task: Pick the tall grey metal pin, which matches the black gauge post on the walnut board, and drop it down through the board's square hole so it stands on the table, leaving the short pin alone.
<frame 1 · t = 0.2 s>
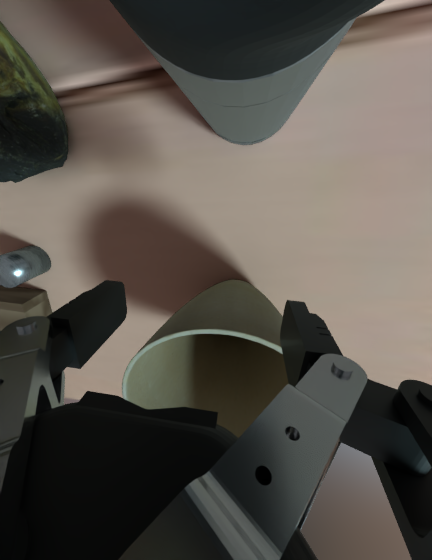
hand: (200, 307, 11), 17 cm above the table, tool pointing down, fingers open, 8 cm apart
hole board: (4, 316, 37), on the table
short pin: (37, 259, 32), on the table
plant pot: (233, 302, 31), on the table
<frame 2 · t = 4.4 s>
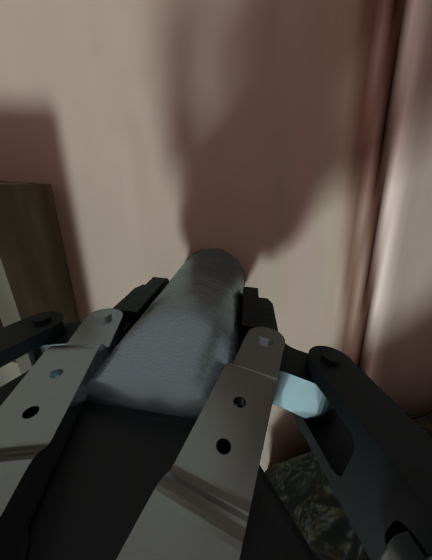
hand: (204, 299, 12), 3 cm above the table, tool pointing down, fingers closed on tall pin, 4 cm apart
hole board: (5, 305, 18), on the table
tall pin: (212, 279, 14), on the table, touching gripper
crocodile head: (425, 428, 17), on the table
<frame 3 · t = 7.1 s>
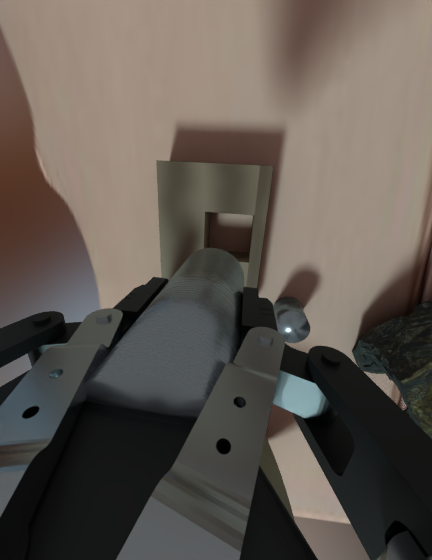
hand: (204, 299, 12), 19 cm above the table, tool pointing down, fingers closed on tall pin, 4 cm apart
hole board: (214, 241, 30), on the table
short pin: (287, 309, 33), on the table
tall pin: (212, 278, 14), point 16 cm above the table, touching gripper
plant pot: (245, 432, 44), on the table
when the fingers open (5 cm above the table, at t = 9.8 s): tall pin drops 2 cm, resting in hole board.
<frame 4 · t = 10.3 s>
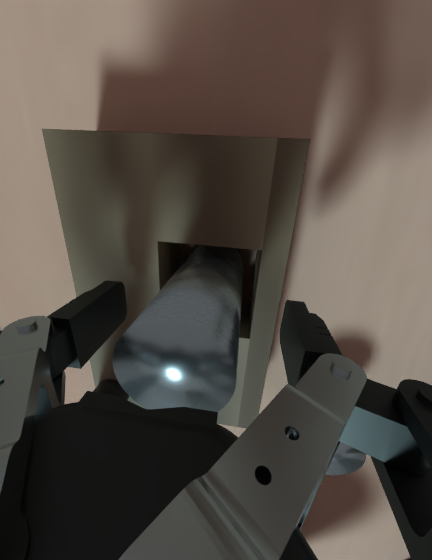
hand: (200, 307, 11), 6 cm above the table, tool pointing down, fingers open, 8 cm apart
hole board: (188, 284, 17), on the table
short pin: (312, 393, 20), on the table
tall pin: (215, 268, 16), resting in hole board
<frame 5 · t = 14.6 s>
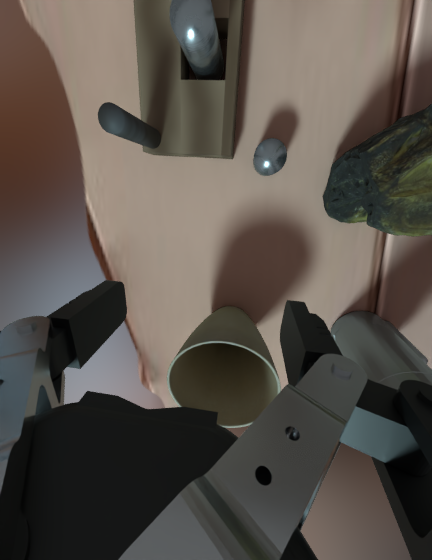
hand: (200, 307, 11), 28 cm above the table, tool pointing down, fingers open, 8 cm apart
hole board: (193, 81, 30), on the table
short pin: (267, 160, 33), on the table
tall pin: (208, 66, 30), resting in hole board
plant pot: (231, 321, 44), on the table
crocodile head: (428, 158, 31), on the table
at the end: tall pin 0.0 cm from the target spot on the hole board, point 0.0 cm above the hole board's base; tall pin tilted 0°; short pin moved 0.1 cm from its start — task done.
